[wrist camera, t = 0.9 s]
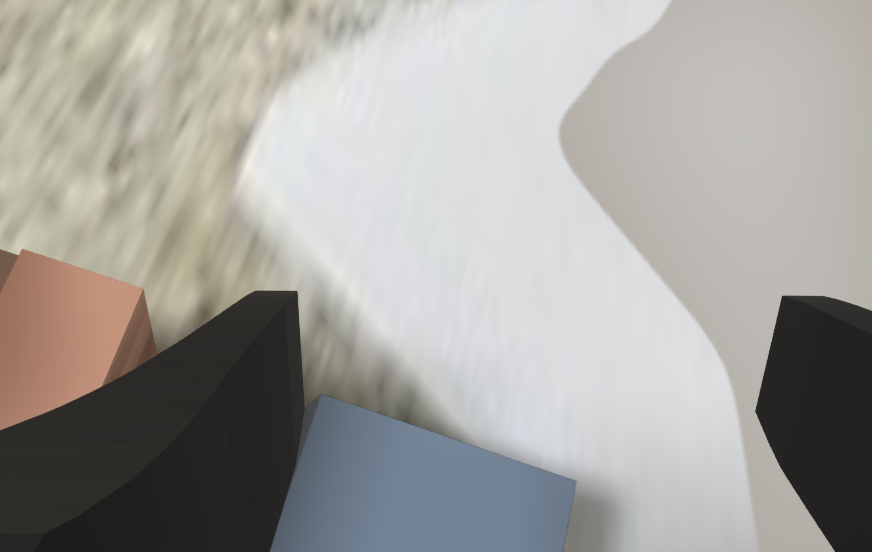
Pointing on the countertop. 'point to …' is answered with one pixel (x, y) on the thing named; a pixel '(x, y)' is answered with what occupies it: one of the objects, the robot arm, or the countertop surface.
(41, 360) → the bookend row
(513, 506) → the blue-grey rectangular block
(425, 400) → the countertop surface
